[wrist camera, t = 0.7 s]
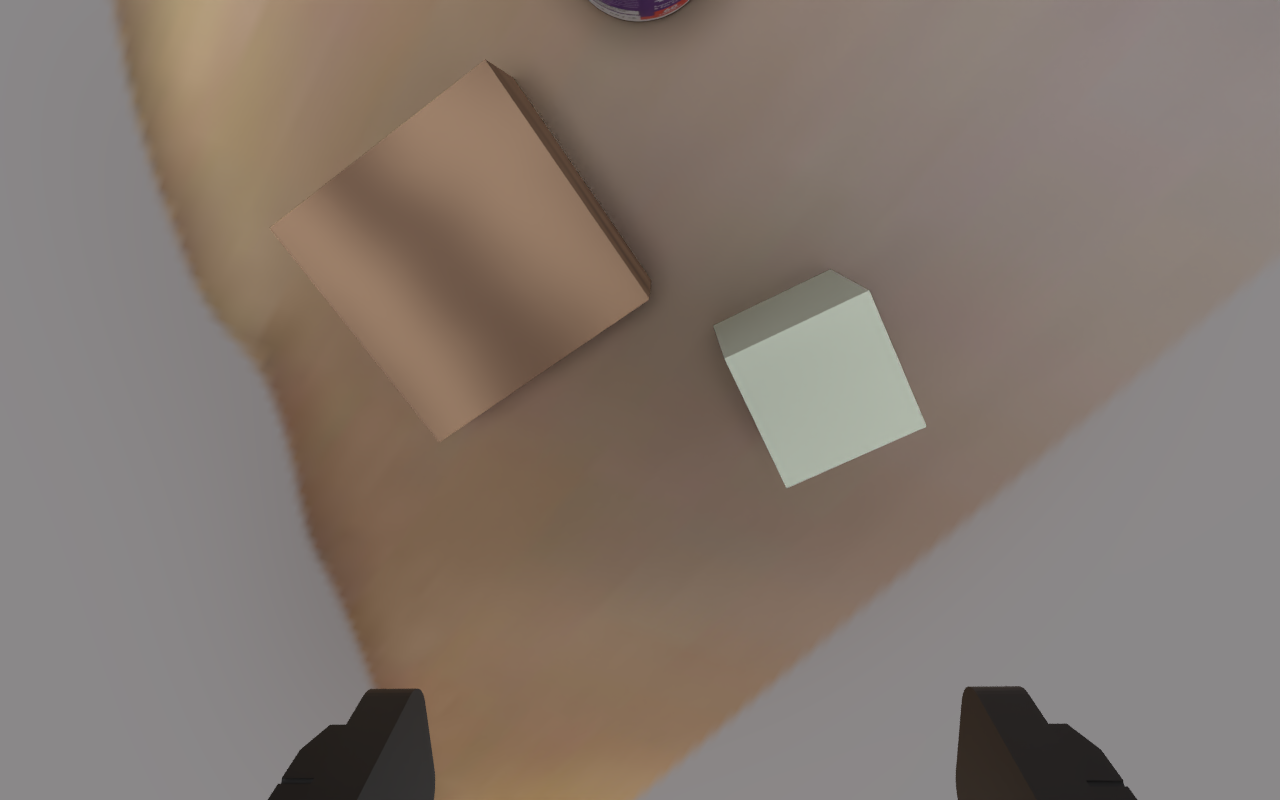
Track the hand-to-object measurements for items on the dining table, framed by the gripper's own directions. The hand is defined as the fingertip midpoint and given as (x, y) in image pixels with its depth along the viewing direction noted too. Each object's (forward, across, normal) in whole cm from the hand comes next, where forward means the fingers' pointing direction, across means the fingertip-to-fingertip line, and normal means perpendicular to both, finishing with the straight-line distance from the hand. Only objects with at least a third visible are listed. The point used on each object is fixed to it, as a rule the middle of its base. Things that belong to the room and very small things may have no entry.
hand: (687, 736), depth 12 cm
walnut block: (+21, +7, -5) cm, 23 cm away
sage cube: (+21, -5, -1) cm, 22 cm away
